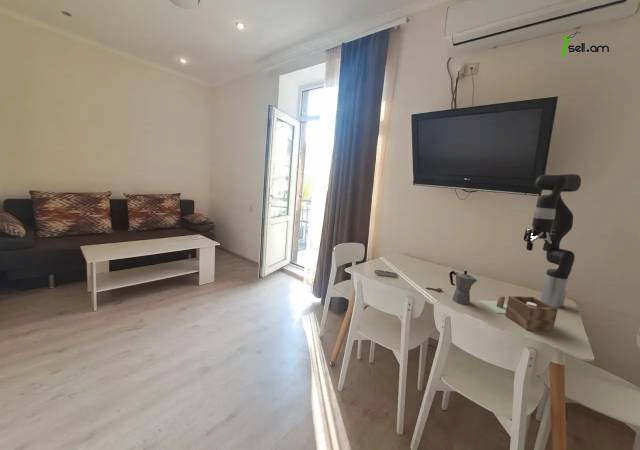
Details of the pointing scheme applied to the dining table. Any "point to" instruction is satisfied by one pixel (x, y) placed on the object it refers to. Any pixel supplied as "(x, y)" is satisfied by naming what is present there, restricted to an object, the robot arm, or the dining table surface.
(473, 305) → the dining table surface
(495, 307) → the lid
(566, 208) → the robot arm
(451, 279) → the coffeepot
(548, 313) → the box
